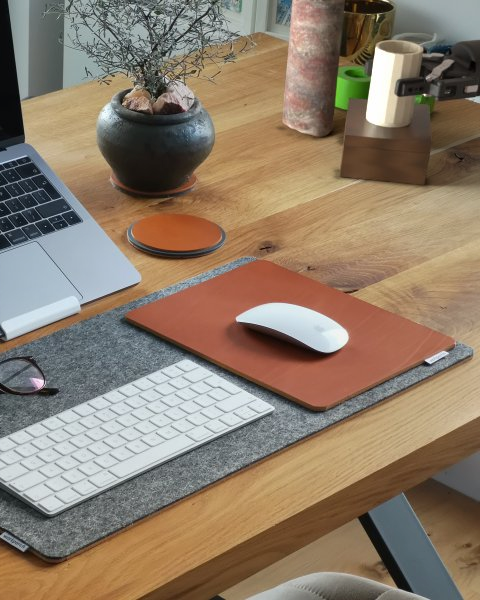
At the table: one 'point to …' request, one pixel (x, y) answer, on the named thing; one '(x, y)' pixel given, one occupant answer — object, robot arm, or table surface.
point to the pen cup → (392, 82)
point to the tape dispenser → (362, 87)
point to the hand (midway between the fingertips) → (381, 78)
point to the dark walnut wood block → (386, 146)
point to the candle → (313, 65)
